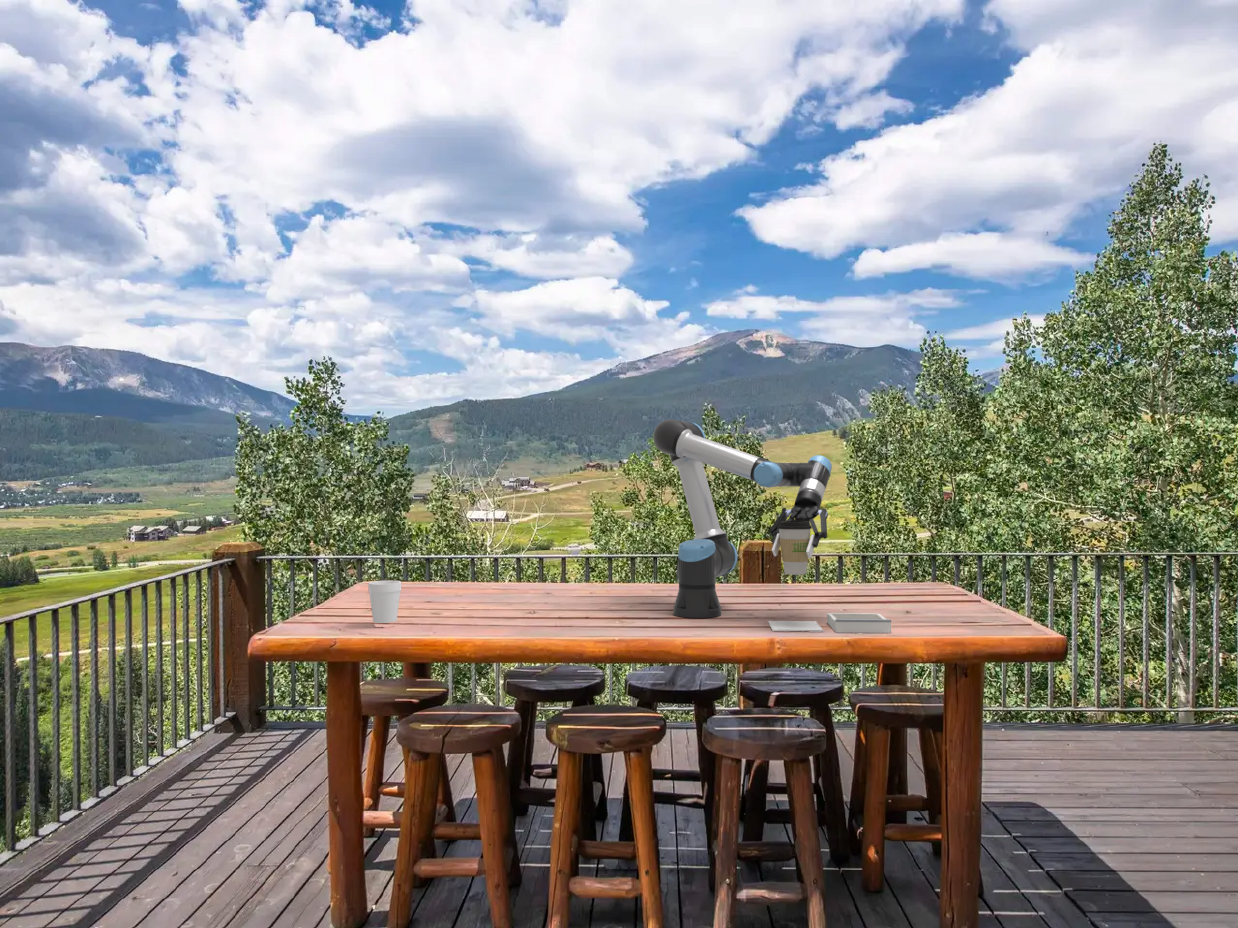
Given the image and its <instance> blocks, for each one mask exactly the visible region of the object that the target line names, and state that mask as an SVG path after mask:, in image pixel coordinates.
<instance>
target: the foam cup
mask: <svg viewBox="0 0 1238 928" xmlns="http://www.w3.org/2000/svg"><path fill="white" fill-rule="evenodd" d="M367 585H368V586H367V587H368V592H369V599H370V607H371V616H372V623H373V622H375V623H389V622H395V621H398V613H399V604H400V599H401V598H400V596H401V590H402V581H400V580H391V579H390V580H389V579H387V580H376V581H369V582H368V584H367Z"/></svg>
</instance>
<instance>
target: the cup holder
mask: <svg viewBox="0 0 1238 928" xmlns="http://www.w3.org/2000/svg"><path fill="white" fill-rule="evenodd" d="M826 619H827V624H828V625H829V627H830V628H832V630H833V631H834V632H835V633H837V634H838V633H840V634H841V633H842V634H843V633H847V634H852V633H853V634H892V619H888V618H886V617H885V616H883V615H882V614H880V613H879V612H878V613H877V612H876V613H875V612H874V613H873V612H872V613H871V612H869V613H867V612H864V613H863V612H862V613H861V612H827V613H826Z"/></svg>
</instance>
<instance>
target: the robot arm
mask: <svg viewBox="0 0 1238 928" xmlns="http://www.w3.org/2000/svg"><path fill="white" fill-rule="evenodd" d="M652 435H653V439H652V440H653V444H654V446H655V447H656V448H657V449H658V451H660V453H661V452H662V453H663V454H666V455H669V457H670V461H671V464H672V465H673V466H675V467H676V468H677V470H678V473H679V477H680V481H681V485H682V489H683V492H684V497H685V500H686V501H685V502H686V504H687V508H688V512H689V515H690V519H691V523H692V525H693V526H692V527H693V530H694V533H695V536H694V538H693V539H690V540H685V541H682V542H681V543H680V544H679V546H678V552H677V553H678V554H677V555H678V556H677V558H678V592H677V595H676V598H675V601H674V605H673V615H674V616H677V617H681V618H688V619H689V618H691V619H703V618H705V619H706V618H709V619H710V618H716V617H720V616H721V615H722V607H721V603H720V600H719V597H718V595H717V591H716V578H718V577H724V576H726V575H727V574H729V573H731V572H732V571H733V570H734V569H735V567H736V565H737V563H738V559H739V558H738V551H737V548H736V546H735V545H734V544H732V542H730V541H729V537H728V534H727V532H726V531H724V530H723V529H721V526H720V522H719V519H718V515H717V511H716V508H715V504H714V500H713V497H712V492H711V489H710V486H709V482H708V478H707V474H706V471H705V468H704V464H706V465H709V466H712V467H714V468H717V469H719V470H723V471H726V472H728V473H729V474H730V473H731V474H734V475H737V476H739V477H742V478H745V479H748V480H750V481H753V482H755V483H756V484H758V485H759V486H761V487H764V488H774V487H775V488H777V487H781V488H782V487H791V488H792V487H799V489H798V491H797V494H796V498H795V499H794V500H795V501H794V504H793V507H792V508H791V509H787V507H783V508H782V509H781V512H780V514H779V515H778V517H777V518H776V520H775V522H774V523H773V524H772V526H771V527H770V529H769V530H768V531H769V533H770V536H771V537H773V538H772V540H771V542H772V543H771V544H772V548H771V553H772V554H773V556H774V557H777V556H778V554H779V550H780V549H781V546H780V539H779V538H780V535H779V529H777V528H778V526H779V522H781V521H809V522H810V526H812V531H813V533H814V534H811V533H810V541H809V544H808V547H807V550H806V553H807V555H808V559H811V558H812V556H813V553H814V550H815V548H818V546H819V543H820V540H821V539H827V538H828V527H827V526H828V525H827V519H828V517H829V512H828V509H827V508H825V507H824V508H822V509H820V508H821V505H822V502H823V498H824V496H825V492H826V489H827V486H828V482H829V480H830V477H831V473H832V472H831V471H832V468H833V465H832V462H831V461H830V459H829V458H827V457H825V456H823V455H814V456H811V457H810V458H809V459H808V461H807V462H777V461H776V462H774V461H771V460H768V459H766V458H762V457H760V456H757V455H753V454H751V453H748V452H745V451H742V450H739V449H738V448H737V449H736V448H733V447H731V446H729V445H726V444H722V443H720V442H717V441H713V440H710V439H708V438H706V434H705V432H704V430H703V429H702V427H701V426H700V425H699V424H696V423H695V422H692V421H688V420H677V419H666V420H663V421H661V422H659V424H657V426H656V427H655V428H654V431H653V434H652ZM817 516H819V517H820V531H819V530H818V528H817V525H816V523H815V520H814V519H815V518H817Z"/></svg>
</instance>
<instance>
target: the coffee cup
mask: <svg viewBox="0 0 1238 928" xmlns="http://www.w3.org/2000/svg"><path fill="white" fill-rule="evenodd" d="M777 529H779V535H780V538H779V539H780V552H781V553H780V554H781V558H782V559H781V560H782V564H783V570H784V574H785V575H793V576H798V575H800V576H801V575H802V576H803V575H806V574H807V570H808V569H807V568H808V562H809V558H808V555H807V553H806V550H807V547H808V544H809V541H810V538H811V529H812V526H811V523H810V522H809V521H781V522H779V526H778V528H777ZM812 530H813V529H812Z"/></svg>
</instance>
